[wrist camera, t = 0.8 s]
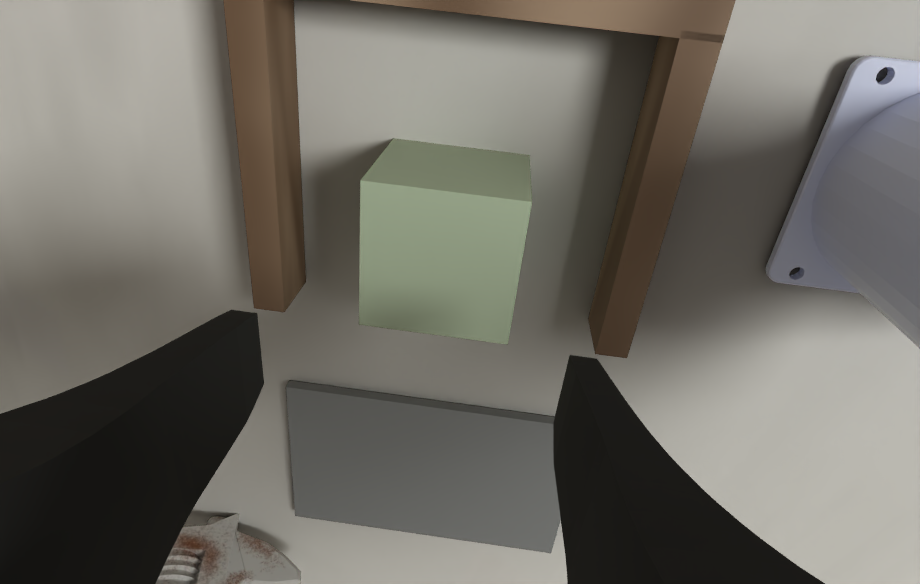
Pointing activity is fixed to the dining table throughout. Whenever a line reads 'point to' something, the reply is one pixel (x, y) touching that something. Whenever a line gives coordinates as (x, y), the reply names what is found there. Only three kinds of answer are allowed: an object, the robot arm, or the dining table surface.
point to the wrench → (225, 557)
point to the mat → (423, 466)
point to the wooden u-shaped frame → (566, 3)
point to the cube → (443, 239)
